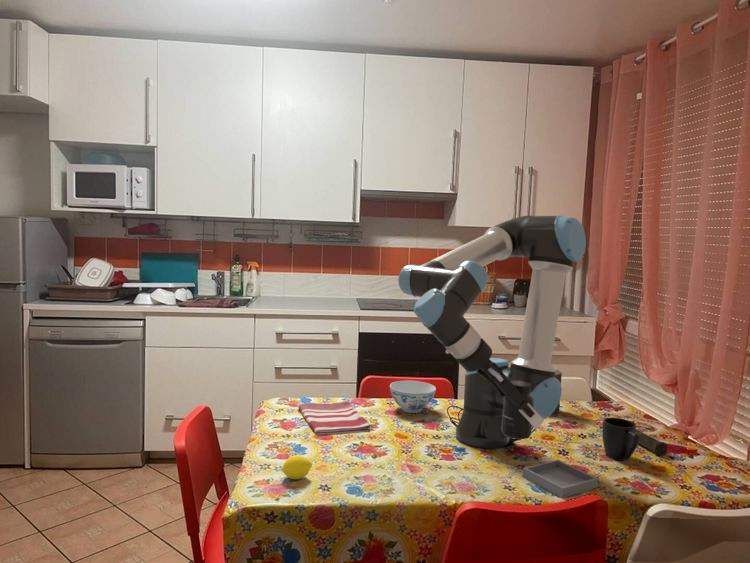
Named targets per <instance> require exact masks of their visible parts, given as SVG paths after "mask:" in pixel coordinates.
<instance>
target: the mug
mask: <svg viewBox="0 0 750 563" xmlns="http://www.w3.org/2000/svg"><path fill="white" fill-rule="evenodd" d="M636 429H637V424H636V423H635V422H634V421H631V420H628V419H624V418H619V417H605V418H604V419H603V422H602V431H601V432H602V443H603V448H604V451H605V452H604V453H605V456H606V457H607V458H610V459H612V460H615V461H627V460H629V459H630V458H631V457H632V455H633V453H634V452H635V450H636V448H638V445H639V435H638V434H637V433H636Z"/></svg>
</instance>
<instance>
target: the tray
mask: <svg viewBox="0 0 750 563" xmlns="http://www.w3.org/2000/svg"><path fill="white" fill-rule="evenodd" d="M521 476H522V477H523V478H524V479H526V480H527V481H530V482H532V483H534V484H535V485H537V486H539V487H540V488H543V489H544V490H547V491H549V492H550V493H552V494H554V495H555V496H558V497H559V498H567V497H569V496H570V497H571V496H574V495H576V494H580V493H584V492H587V491H591V490H594V489H593V488H595V489H597V488H596V487H599V477H595V476H593V475H591V474H590V473H587V472H585V471H582V470H580V469H579V468H577V467H574V466H572V465H570V464H569V463H566V462H564V461H562V460H560V459H554V460H551V461H547V462H542V463H538V464H533V465H530V466H525V467H523V468H522V475H521Z"/></svg>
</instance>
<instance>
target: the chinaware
mask: <svg viewBox="0 0 750 563" xmlns="http://www.w3.org/2000/svg"><path fill="white" fill-rule="evenodd" d="M389 389H390V390H389V391H390V394H391V397H392V399H393V401H394V402H395V404H397V405H398V406H399V407H400V408H401V410H402V411H403V412H406V413H409V414H418V413H421V412H422V410H423V409H424V408H425V407H427V406H428V405H429V404H430V403H431V402H432V400H434V396H435V394H436V390H437V388H436V386H435V385H433V384H431V383H428V382H424V381H418V380H399V381H394V382H391V383H390V385H389Z"/></svg>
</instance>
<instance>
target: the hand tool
mask: <svg viewBox="0 0 750 563" xmlns="http://www.w3.org/2000/svg"><path fill="white" fill-rule="evenodd" d="M636 433H637V434H638V435H639V443H638V445H640V446H642V447H644V448H646V449H647V450H648V451H650V452H653V453H654V455H655V457H663V456H666V454H667V453H668V448H669V446H668V444H667V443H666V442H663V441H660V440H658V439H657V438H655V437H653V436H650V435H648V434H646V433H643V432H642V431H640V430H639V429H638V428H636Z"/></svg>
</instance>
